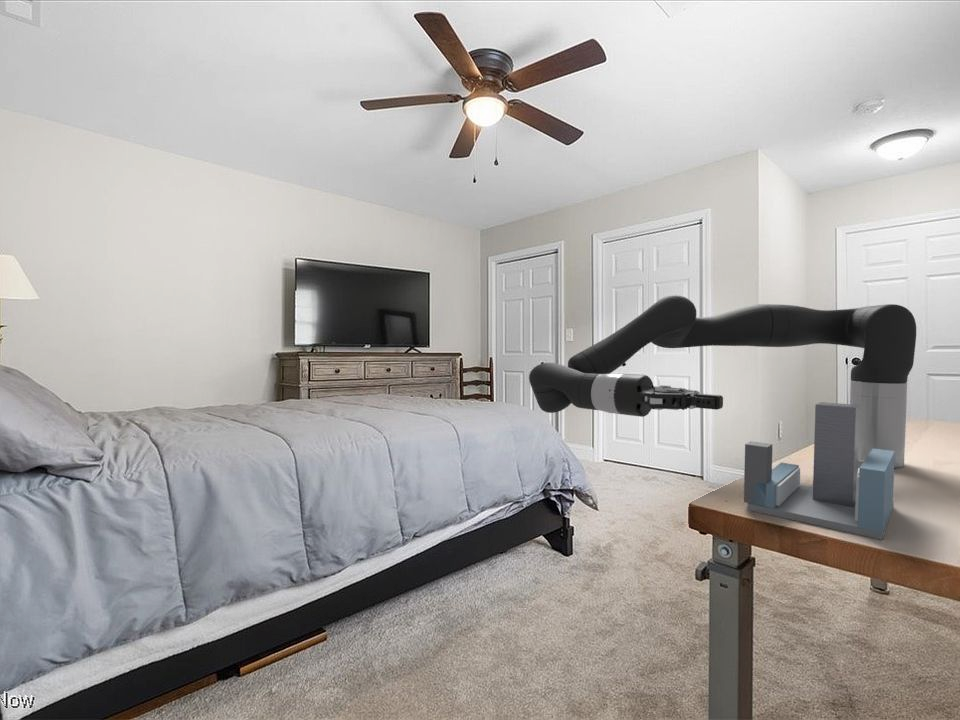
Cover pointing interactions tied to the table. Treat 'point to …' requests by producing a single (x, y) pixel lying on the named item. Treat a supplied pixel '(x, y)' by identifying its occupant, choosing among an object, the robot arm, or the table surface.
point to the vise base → (859, 519)
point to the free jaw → (767, 477)
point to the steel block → (836, 453)
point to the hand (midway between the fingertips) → (721, 402)
